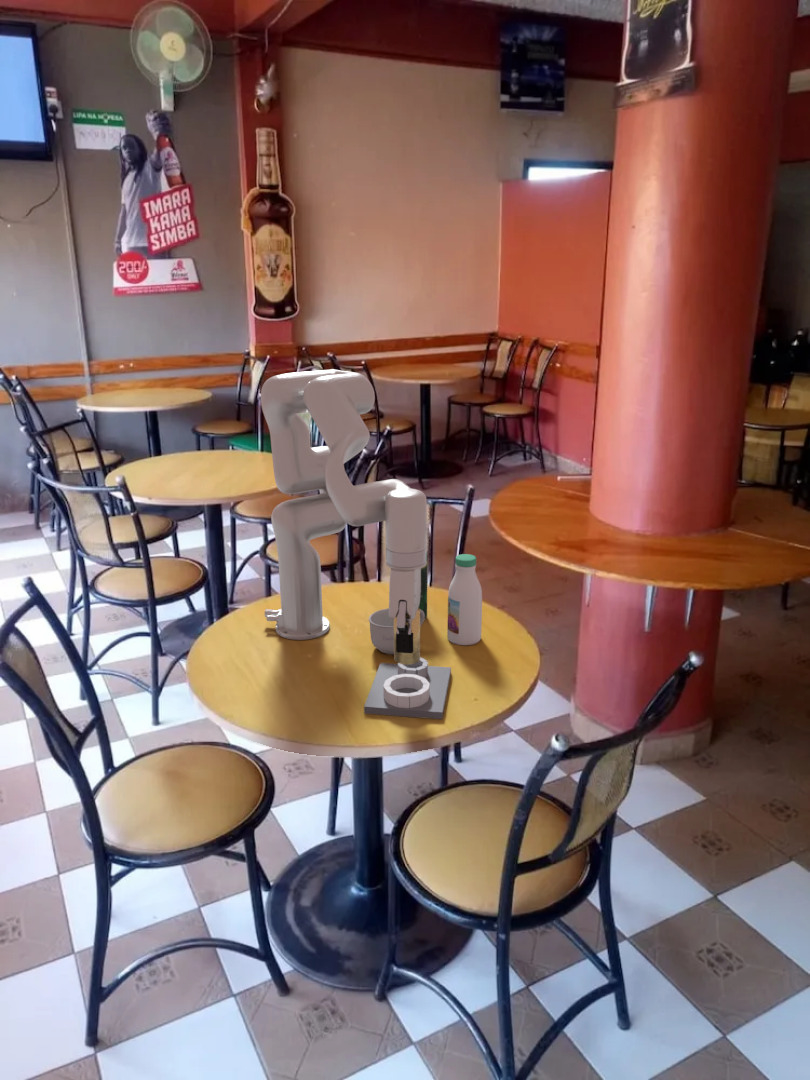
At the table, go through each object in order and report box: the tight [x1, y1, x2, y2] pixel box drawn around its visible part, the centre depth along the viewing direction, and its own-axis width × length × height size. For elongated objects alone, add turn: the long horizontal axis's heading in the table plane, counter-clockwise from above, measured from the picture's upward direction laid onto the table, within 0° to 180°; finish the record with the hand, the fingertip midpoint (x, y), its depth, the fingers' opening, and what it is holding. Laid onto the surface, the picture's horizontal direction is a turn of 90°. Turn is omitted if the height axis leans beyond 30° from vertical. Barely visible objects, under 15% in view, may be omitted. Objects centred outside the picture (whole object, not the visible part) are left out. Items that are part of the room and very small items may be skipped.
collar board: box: [363, 656, 452, 720], centre depth 164 cm, size 15×18×4 cm
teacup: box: [368, 607, 426, 655], centre depth 183 cm, size 14×11×8 cm
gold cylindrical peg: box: [393, 608, 421, 665], centre depth 156 cm, size 5×5×10 cm
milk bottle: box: [446, 553, 483, 646], centre depth 184 cm, size 8×8×20 cm
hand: (406, 644), depth 156 cm, fingers closed on gold cylindrical peg, 5 cm apart
